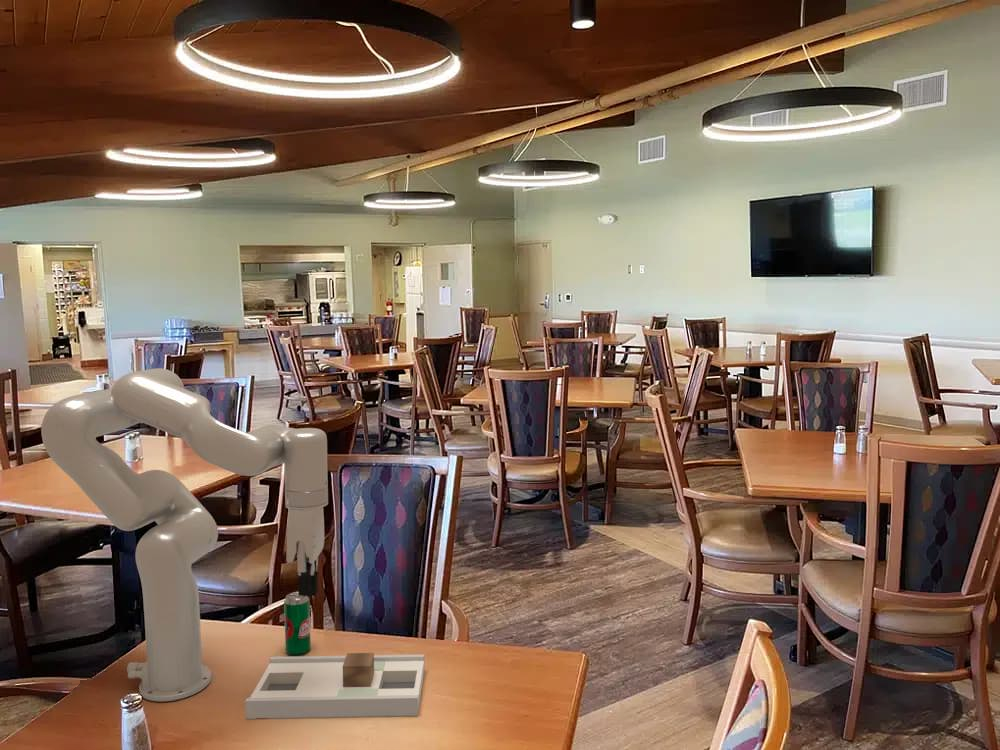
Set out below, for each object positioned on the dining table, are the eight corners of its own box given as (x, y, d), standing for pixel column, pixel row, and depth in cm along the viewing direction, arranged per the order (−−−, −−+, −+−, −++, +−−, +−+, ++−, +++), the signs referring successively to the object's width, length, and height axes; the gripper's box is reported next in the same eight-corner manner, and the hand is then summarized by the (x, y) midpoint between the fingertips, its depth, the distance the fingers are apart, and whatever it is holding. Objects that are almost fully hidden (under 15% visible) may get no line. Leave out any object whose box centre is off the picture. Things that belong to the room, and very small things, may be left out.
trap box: (246, 718, 130) (245, 701, 129) (271, 672, 146) (271, 656, 145) (417, 715, 130) (417, 698, 130) (424, 670, 146) (424, 654, 146)
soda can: (303, 657, 152) (302, 601, 150) (281, 655, 153) (279, 599, 151) (314, 646, 157) (313, 591, 155) (292, 644, 158) (291, 590, 156)
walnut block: (343, 687, 135) (342, 666, 135) (347, 673, 140) (347, 653, 140) (370, 686, 135) (370, 665, 135) (374, 672, 140) (373, 652, 140)
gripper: (296, 486, 142) (298, 578, 143) (274, 508, 127) (276, 611, 129) (335, 486, 142) (337, 578, 144) (318, 508, 127) (320, 611, 129)
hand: (308, 594), depth 136 cm, fingers closed
